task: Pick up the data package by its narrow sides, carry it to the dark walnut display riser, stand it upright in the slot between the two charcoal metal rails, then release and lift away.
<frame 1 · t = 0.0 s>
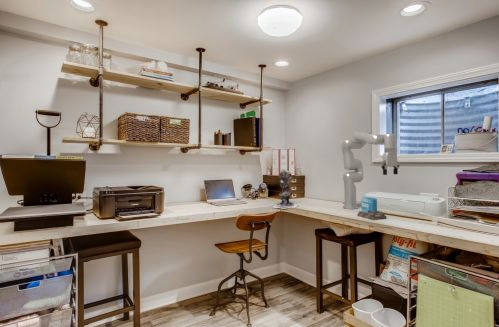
hand: (390, 174, 210), 31 cm above the table, tool pointing down, fingers open, 9 cm apart
display riser: (371, 217, 212), on the table
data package: (369, 213, 230), on the table
dark grey statue: (283, 207, 265), on the table
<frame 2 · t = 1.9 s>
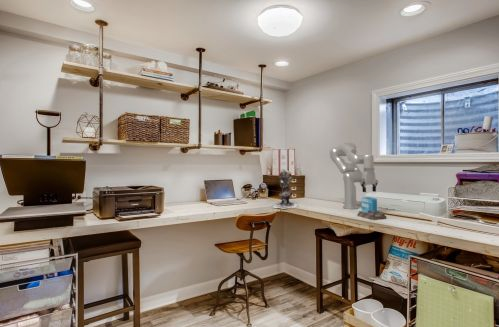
hand: (369, 191, 229), 17 cm above the table, tool pointing down, fingers open, 9 cm apart
nothing on the table moved.
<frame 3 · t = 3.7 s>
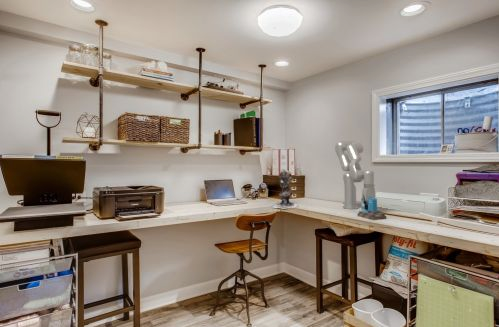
hand: (369, 209, 230), 3 cm above the table, tool pointing down, fingers closed on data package, 4 cm apart
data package: (369, 212, 230), on the table, touching gripper
everything else where it was.
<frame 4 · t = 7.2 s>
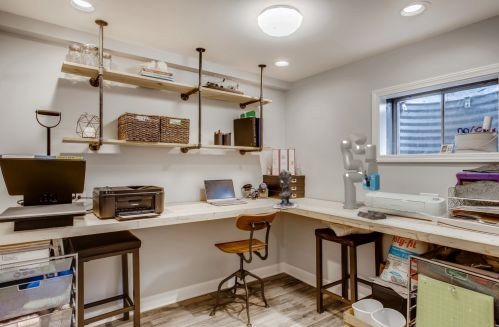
hand: (371, 185, 212), 23 cm above the table, tool pointing down, fingers closed on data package, 4 cm apart
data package: (371, 190, 212), point 20 cm above the table, touching gripper
everything else where it was.
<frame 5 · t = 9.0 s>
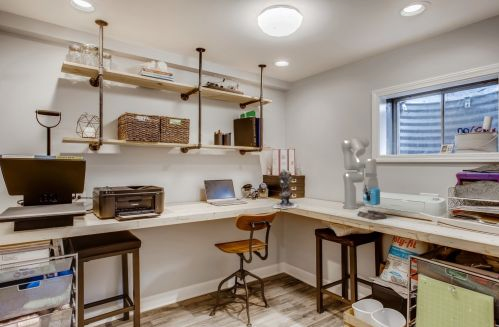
hand: (371, 200, 212), 13 cm above the table, tool pointing down, fingers closed on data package, 4 cm apart
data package: (371, 204, 212), point 9 cm above the table, touching gripper
everything else where it was.
when the fingers open (6 cm above the table, at t = 10.6 s): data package drops 1 cm, resting on display riser.
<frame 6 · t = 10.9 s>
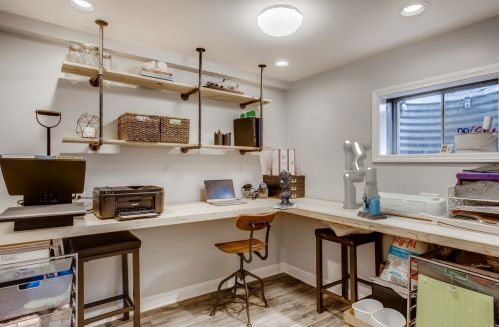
hand: (371, 208, 212), 7 cm above the table, tool pointing down, fingers open, 7 cm apart
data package: (371, 214, 212), point 2 cm above the table, touching display riser
everything else where it was.
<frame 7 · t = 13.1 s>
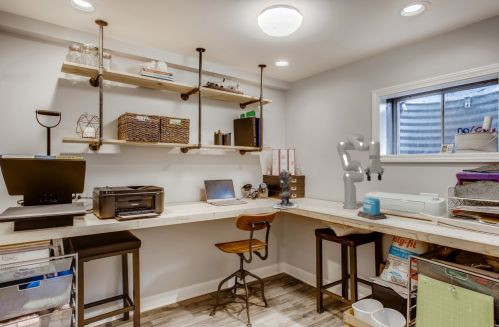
hand: (374, 180, 218), 26 cm above the table, tool pointing down, fingers open, 9 cm apart
nothing on the table moved.
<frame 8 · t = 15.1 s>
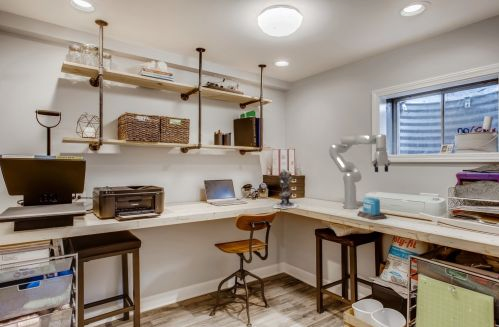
hand: (381, 171, 229), 32 cm above the table, tool pointing down, fingers open, 9 cm apart
nothing on the table moved.
at the end: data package 0.1 cm off-centre on the display riser, point 1.8 cm above the display riser's base; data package tilted 0°; the gripper is holding nothing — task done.
